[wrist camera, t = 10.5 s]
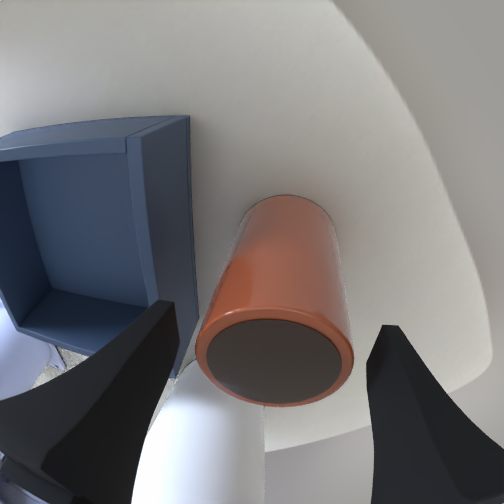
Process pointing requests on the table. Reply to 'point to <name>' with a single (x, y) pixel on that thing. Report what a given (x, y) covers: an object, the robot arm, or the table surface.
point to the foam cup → (202, 448)
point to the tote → (97, 229)
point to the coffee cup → (279, 309)
